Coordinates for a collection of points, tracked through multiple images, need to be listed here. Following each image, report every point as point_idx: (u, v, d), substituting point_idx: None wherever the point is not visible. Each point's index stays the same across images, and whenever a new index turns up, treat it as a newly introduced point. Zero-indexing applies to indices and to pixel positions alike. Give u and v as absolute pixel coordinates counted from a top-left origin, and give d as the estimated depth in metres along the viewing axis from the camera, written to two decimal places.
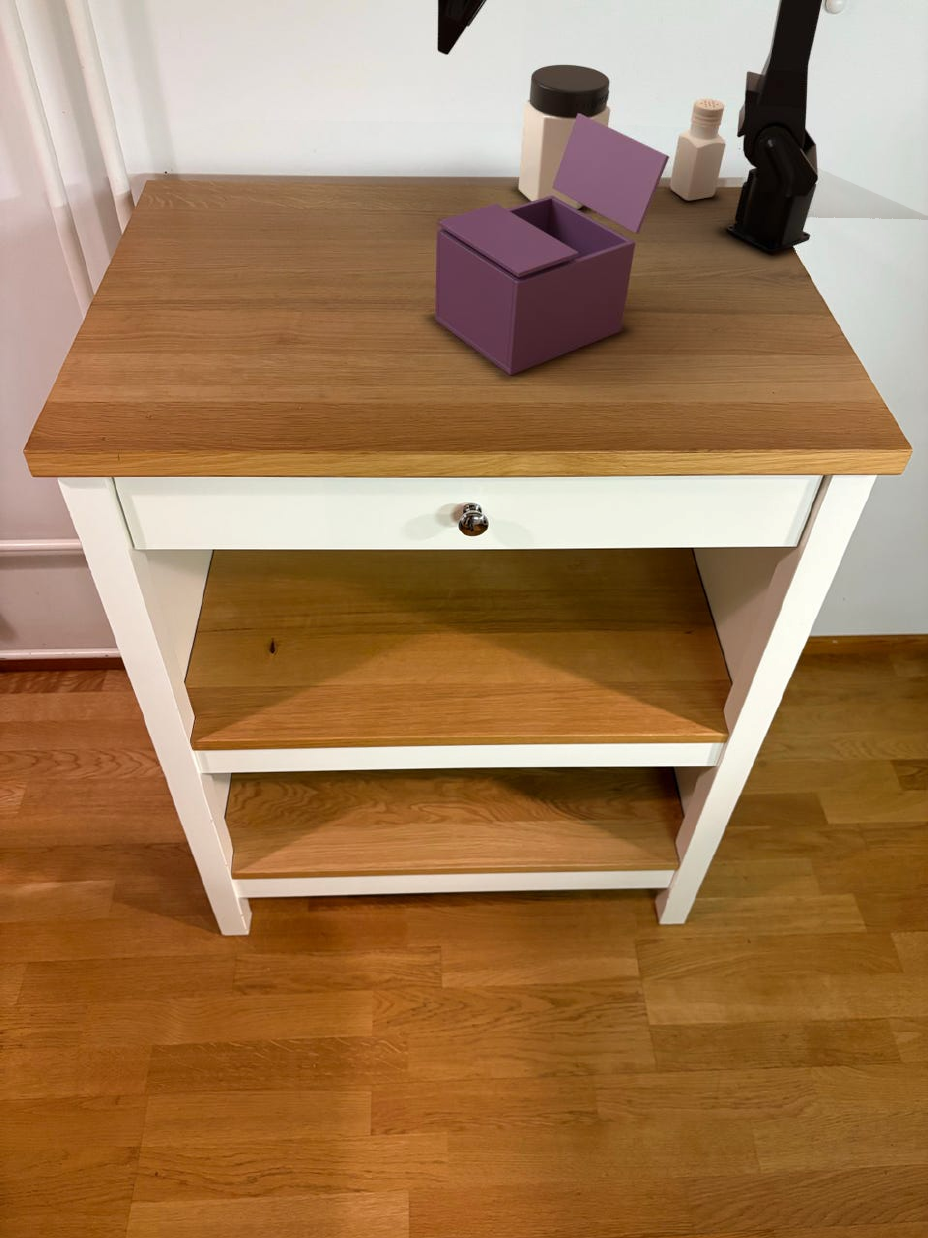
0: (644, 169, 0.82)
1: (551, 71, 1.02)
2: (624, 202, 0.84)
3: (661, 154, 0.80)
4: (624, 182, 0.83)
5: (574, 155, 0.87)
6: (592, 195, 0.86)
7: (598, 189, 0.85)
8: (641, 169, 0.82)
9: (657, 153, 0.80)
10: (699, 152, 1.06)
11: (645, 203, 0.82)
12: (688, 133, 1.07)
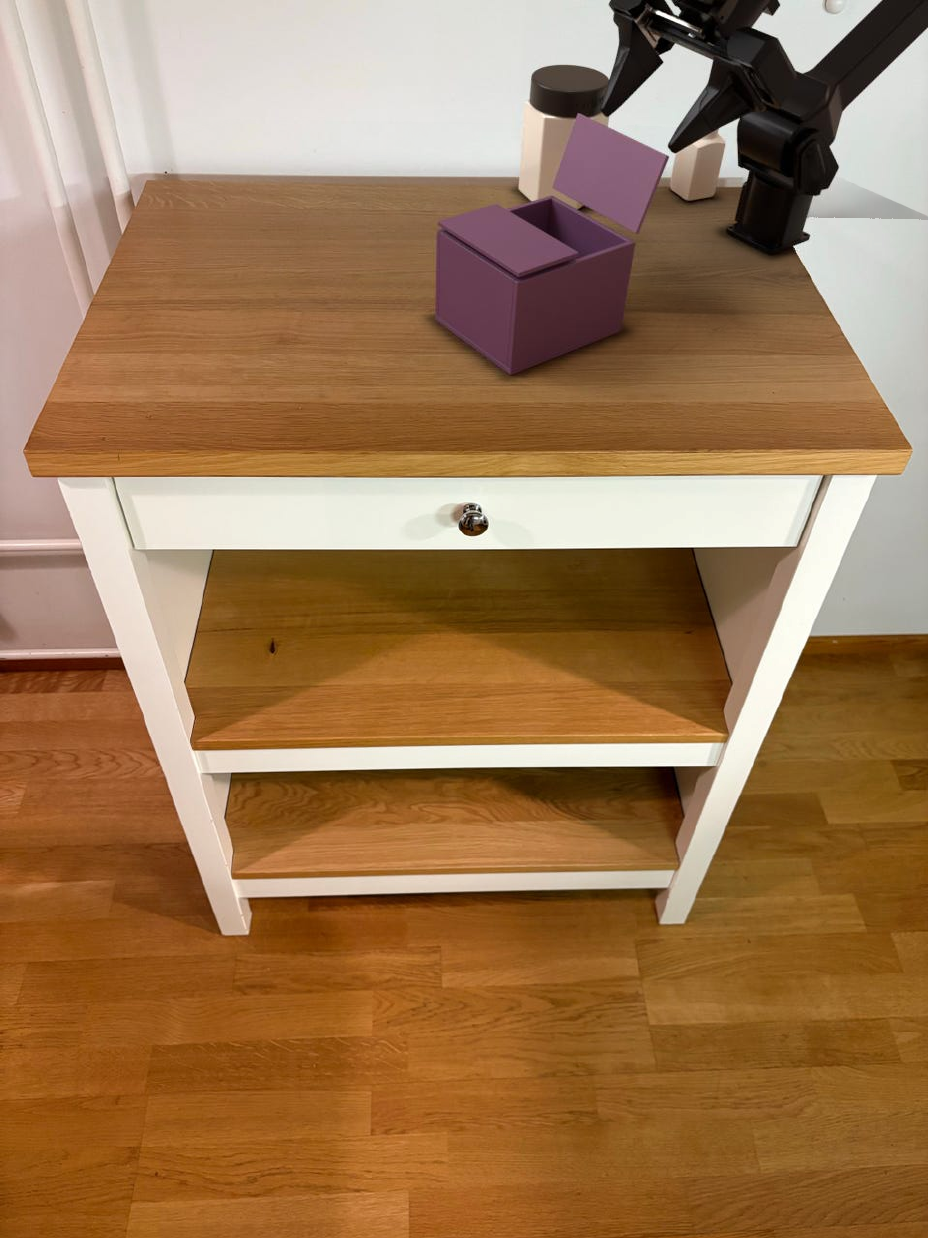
0: (644, 169, 0.82)
1: (551, 71, 1.02)
2: (624, 202, 0.84)
3: (661, 154, 0.80)
4: (624, 182, 0.83)
5: (574, 155, 0.87)
6: (592, 195, 0.86)
7: (598, 189, 0.85)
8: (641, 169, 0.82)
9: (657, 153, 0.80)
10: (699, 152, 1.06)
11: (645, 203, 0.82)
12: None
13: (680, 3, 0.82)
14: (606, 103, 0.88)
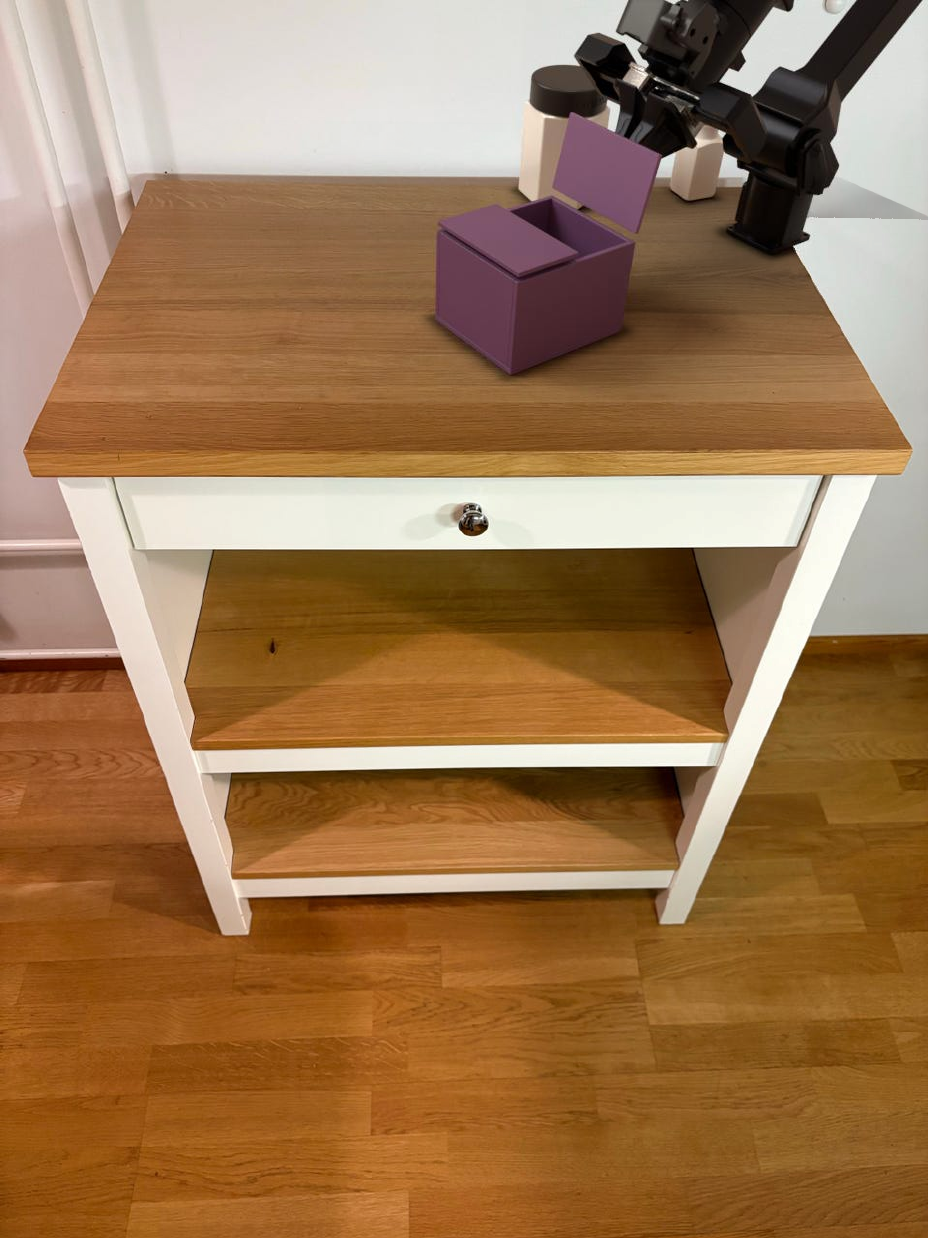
0: (639, 169, 0.81)
1: (551, 71, 1.02)
2: (622, 202, 0.83)
3: (654, 153, 0.80)
4: (620, 182, 0.83)
5: (570, 155, 0.86)
6: (591, 195, 0.86)
7: (596, 189, 0.85)
8: (635, 169, 0.81)
9: (650, 152, 0.80)
10: (699, 152, 1.06)
11: (642, 203, 0.82)
12: None
13: (649, 57, 0.82)
14: None
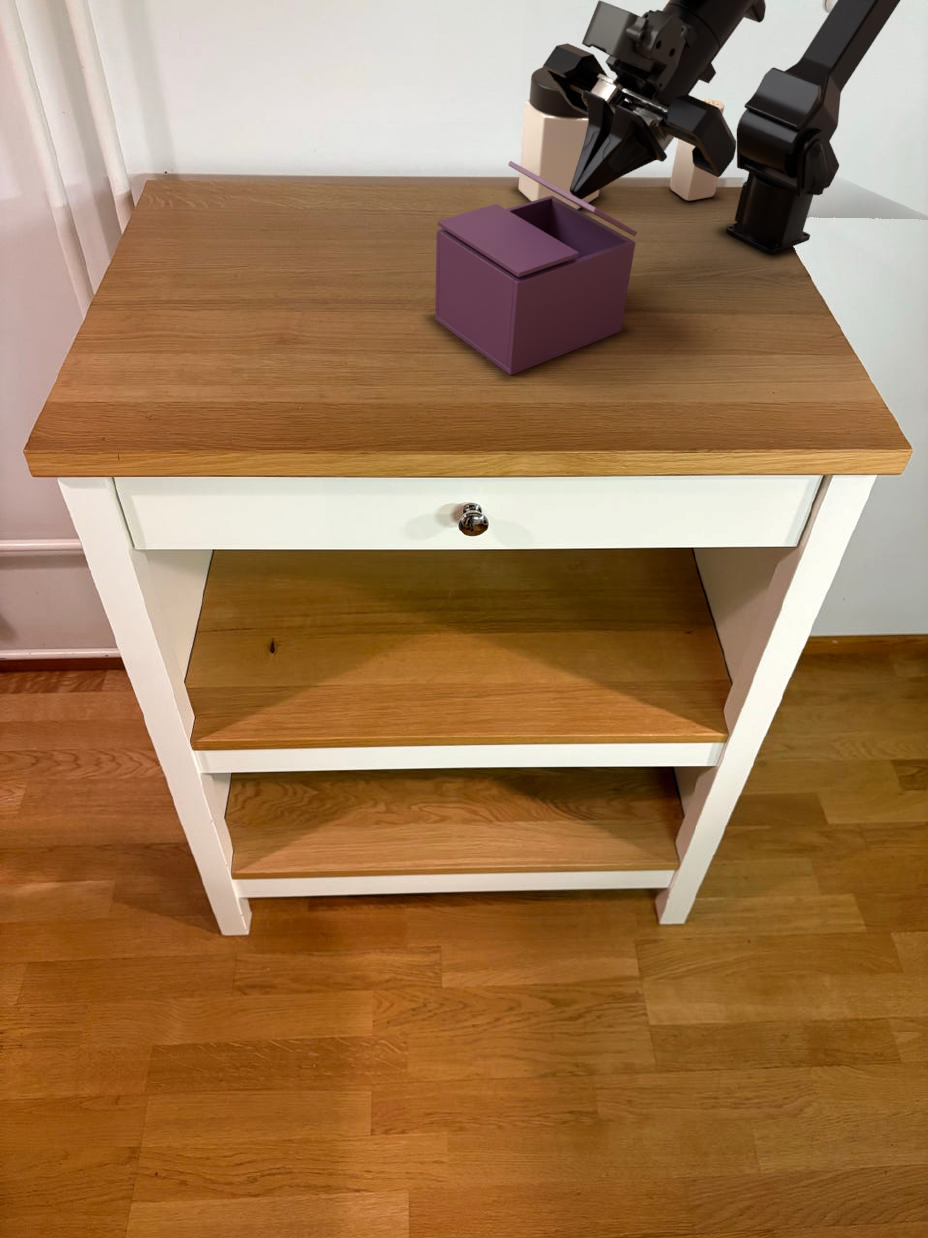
0: (591, 211, 0.81)
1: None
2: None
3: (589, 209, 0.79)
4: (589, 210, 0.83)
5: None
6: (581, 206, 0.86)
7: None
8: None
9: (585, 208, 0.79)
10: None
11: (617, 226, 0.82)
12: None
13: (617, 68, 0.80)
14: (576, 184, 0.83)
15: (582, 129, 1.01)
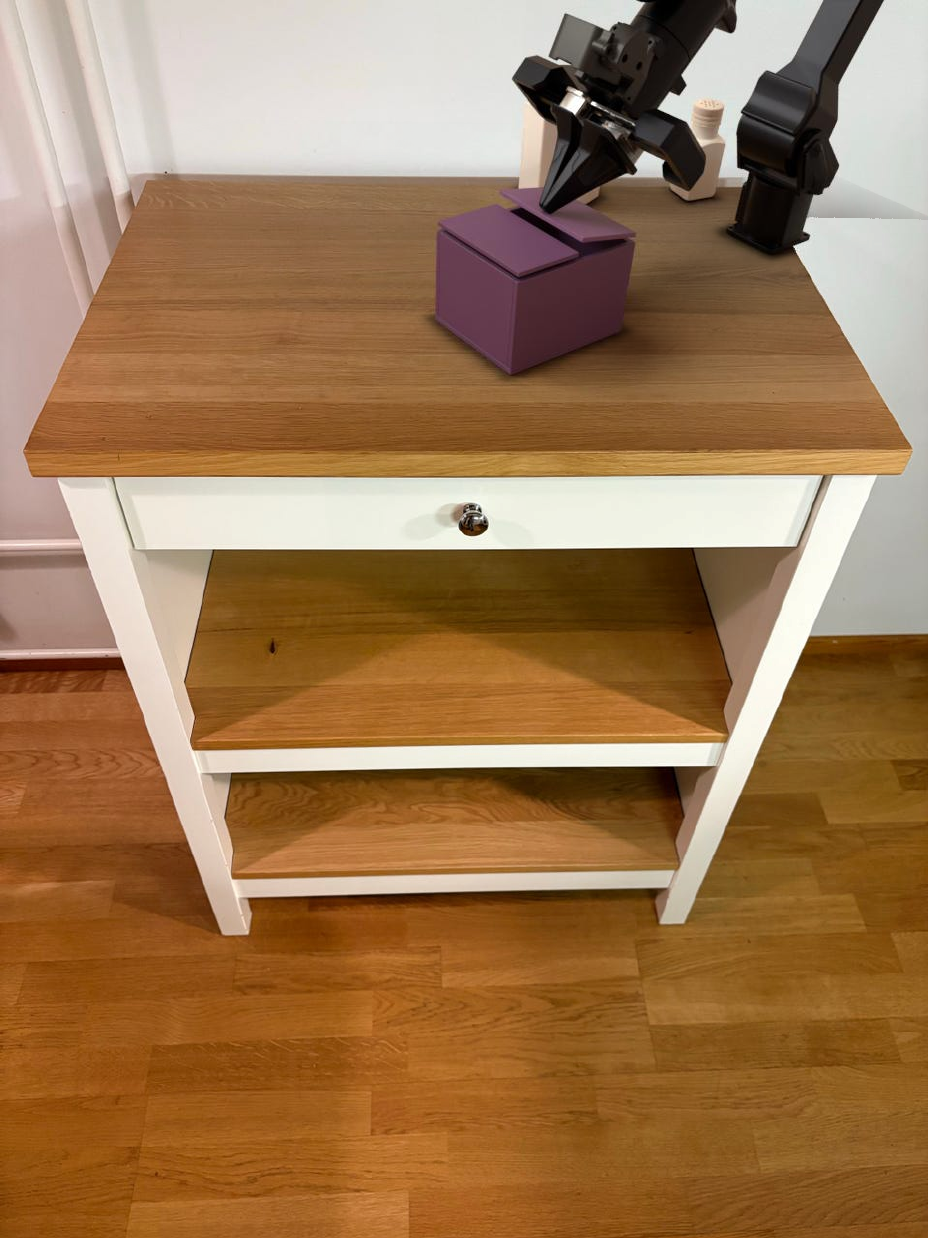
0: None
1: None
2: None
3: (578, 239, 0.80)
4: None
5: None
6: None
7: None
8: None
9: (575, 237, 0.81)
10: None
11: (613, 238, 0.82)
12: None
13: (585, 81, 0.79)
14: (545, 198, 0.82)
15: None
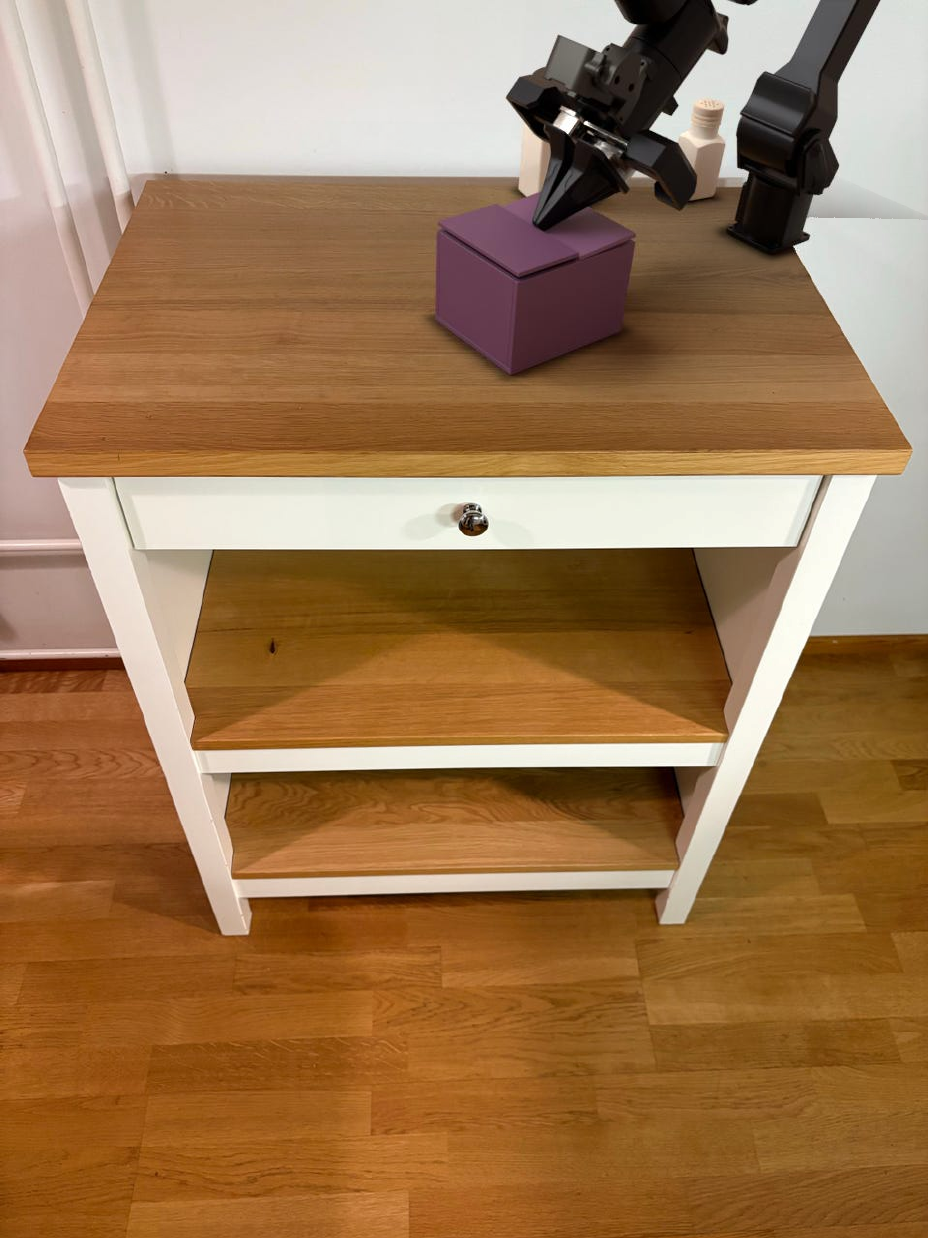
0: None
1: None
2: None
3: None
4: None
5: None
6: None
7: None
8: None
9: None
10: (699, 152, 1.06)
11: (612, 245, 0.83)
12: (688, 133, 1.07)
13: (578, 101, 0.80)
14: (538, 216, 0.83)
15: None
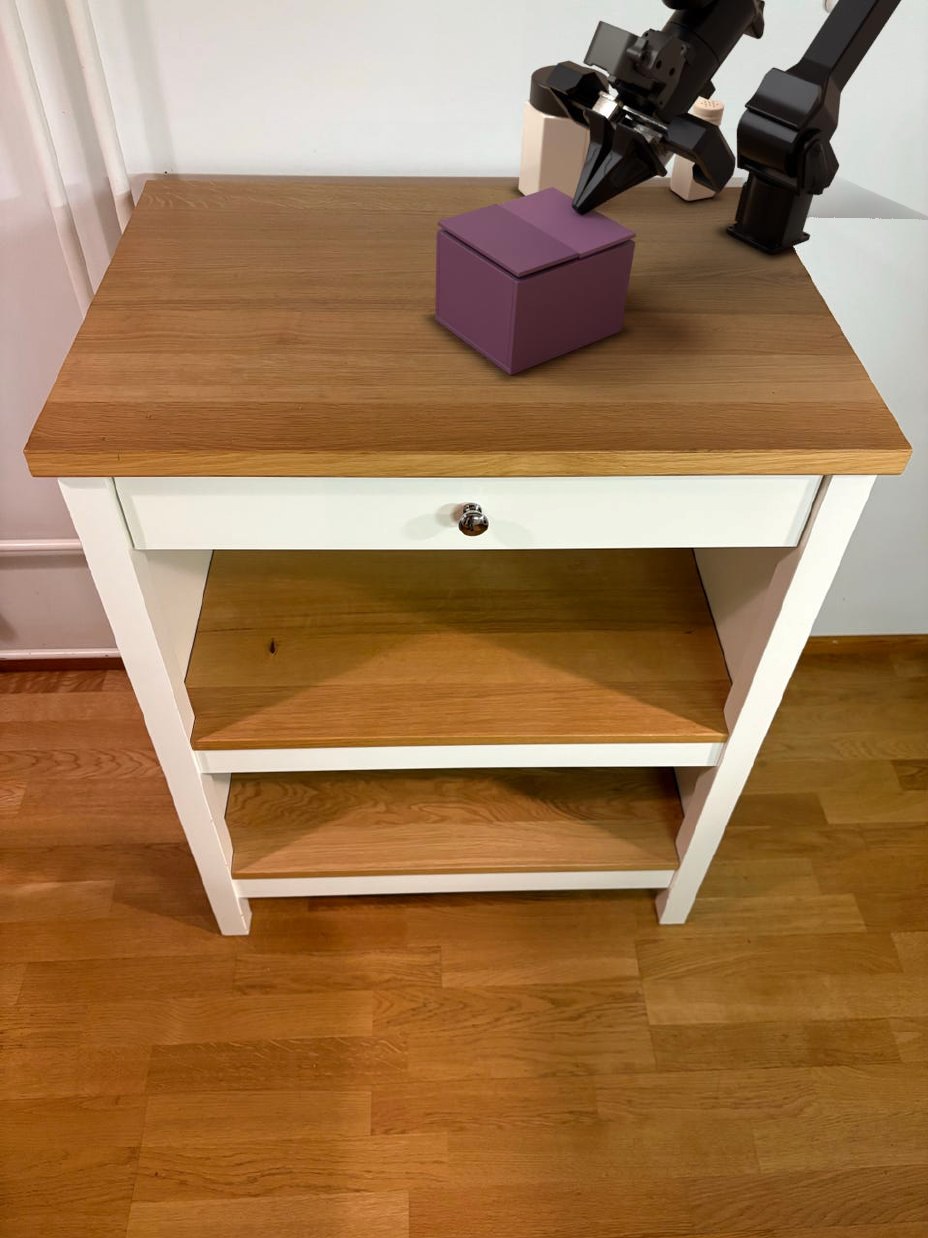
0: None
1: (551, 71, 1.02)
2: None
3: None
4: None
5: None
6: None
7: None
8: None
9: None
10: None
11: (612, 244, 0.83)
12: None
13: (618, 86, 0.82)
14: (578, 200, 0.84)
15: (582, 129, 1.01)
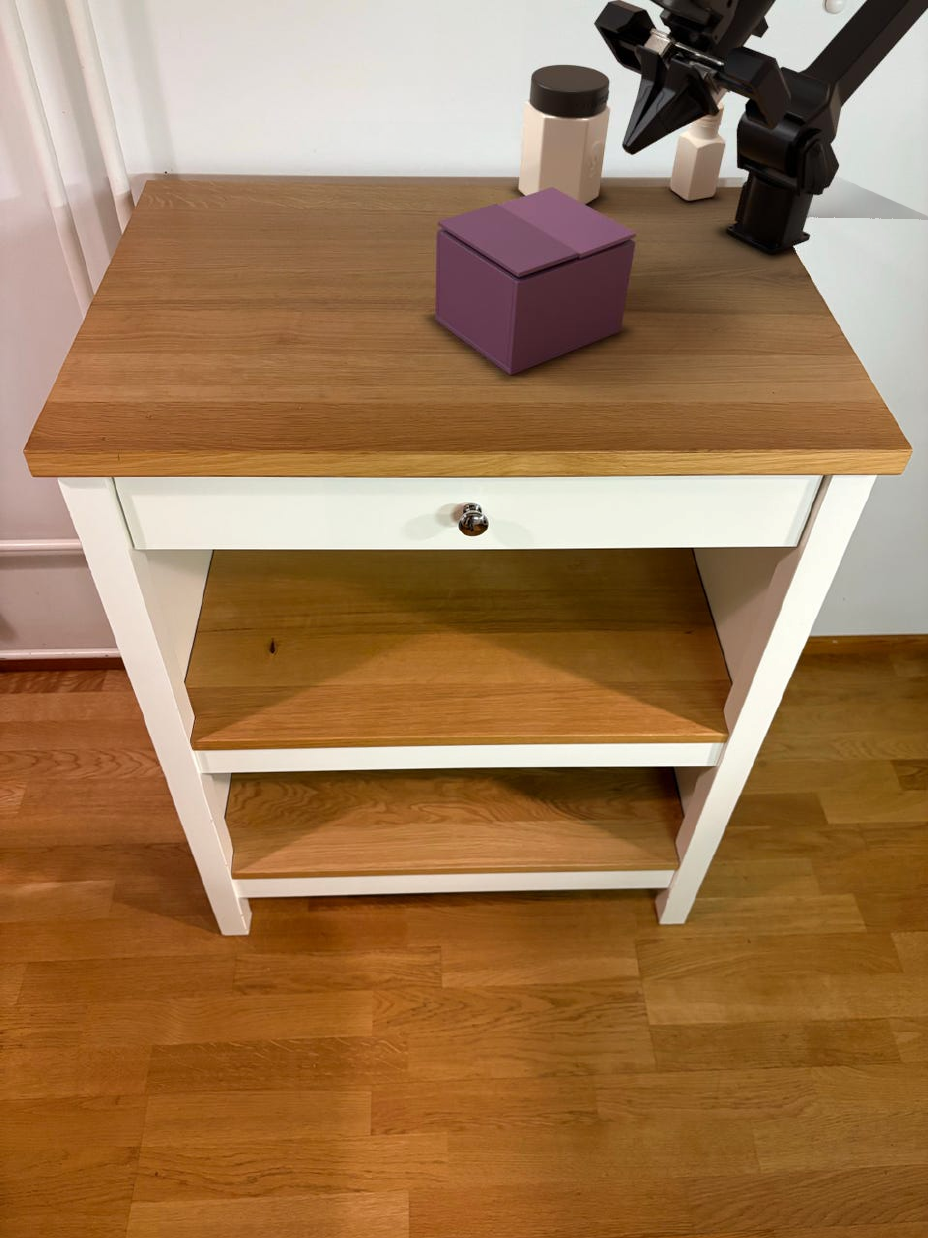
0: None
1: (551, 71, 1.02)
2: None
3: None
4: None
5: None
6: None
7: None
8: None
9: None
10: (699, 152, 1.06)
11: (612, 244, 0.83)
12: (688, 133, 1.07)
13: (671, 22, 0.81)
14: (629, 139, 0.84)
15: (582, 129, 1.01)
